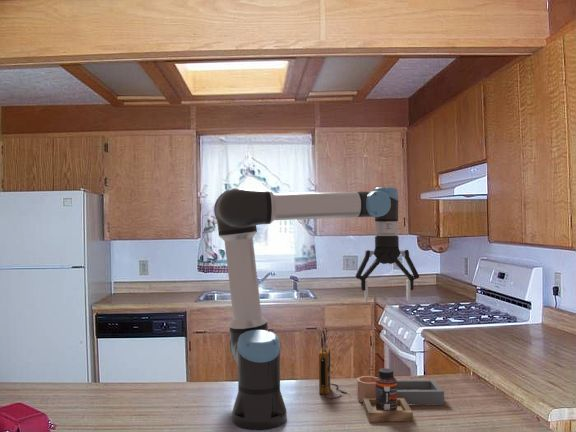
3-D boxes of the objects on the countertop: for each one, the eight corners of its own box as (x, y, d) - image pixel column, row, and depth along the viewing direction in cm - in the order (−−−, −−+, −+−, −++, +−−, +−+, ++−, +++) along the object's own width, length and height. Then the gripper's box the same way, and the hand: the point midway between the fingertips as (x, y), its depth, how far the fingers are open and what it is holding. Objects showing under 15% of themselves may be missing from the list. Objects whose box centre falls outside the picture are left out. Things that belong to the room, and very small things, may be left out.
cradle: (389, 405, 151) (389, 391, 151) (383, 392, 162) (383, 379, 162) (444, 405, 151) (443, 391, 151) (434, 392, 162) (433, 379, 162)
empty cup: (358, 403, 153) (358, 383, 153) (356, 395, 160) (355, 376, 160) (382, 403, 153) (382, 383, 153) (378, 395, 160) (378, 376, 160)
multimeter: (349, 400, 155) (349, 335, 155) (317, 398, 157) (316, 333, 157) (353, 385, 170) (352, 325, 170) (323, 383, 172) (323, 324, 172)
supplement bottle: (392, 415, 141) (392, 374, 141) (372, 411, 144) (372, 371, 144) (400, 408, 146) (399, 369, 146) (380, 404, 149) (379, 366, 149)
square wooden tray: (368, 421, 139) (368, 412, 139) (363, 406, 150) (363, 397, 150) (412, 421, 139) (412, 412, 139) (404, 406, 150) (403, 397, 150)
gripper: (349, 235, 162) (350, 302, 162) (428, 235, 161) (429, 302, 161) (347, 234, 169) (347, 298, 169) (422, 234, 169) (423, 298, 169)
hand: (387, 300), depth 165 cm, fingers open, 13 cm apart
